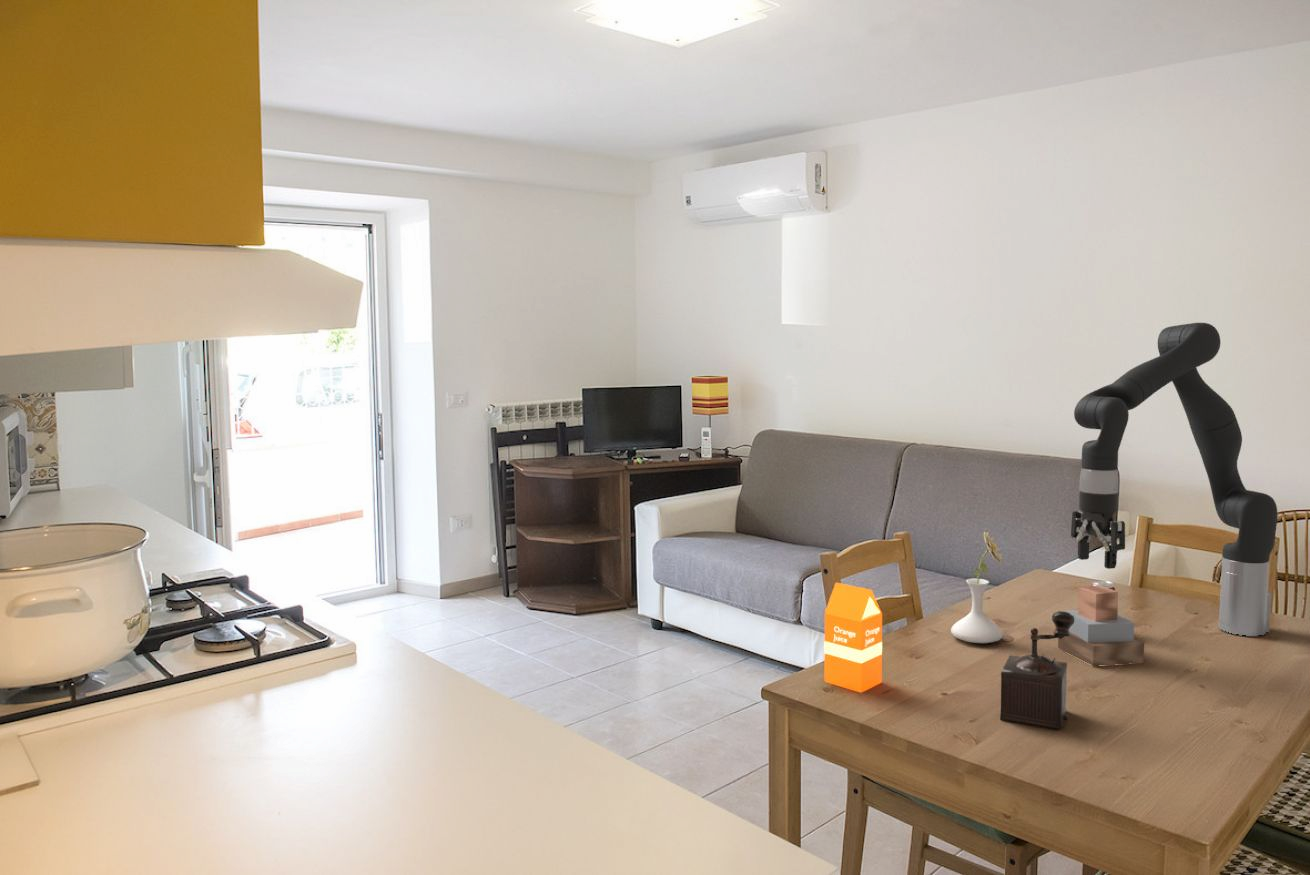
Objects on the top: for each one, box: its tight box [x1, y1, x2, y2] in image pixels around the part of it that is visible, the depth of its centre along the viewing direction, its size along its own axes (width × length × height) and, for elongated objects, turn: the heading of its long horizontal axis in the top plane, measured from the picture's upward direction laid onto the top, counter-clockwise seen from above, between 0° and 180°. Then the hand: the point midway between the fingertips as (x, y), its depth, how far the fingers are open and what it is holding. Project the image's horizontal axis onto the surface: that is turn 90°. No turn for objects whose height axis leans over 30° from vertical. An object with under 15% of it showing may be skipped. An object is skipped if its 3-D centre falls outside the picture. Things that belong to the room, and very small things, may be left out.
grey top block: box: [1064, 609, 1135, 643], centre depth 200 cm, size 10×10×4 cm
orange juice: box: [823, 582, 883, 694], centre depth 186 cm, size 8×9×20 cm
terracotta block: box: [1077, 585, 1119, 622], centre depth 199 cm, size 6×6×6 cm
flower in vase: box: [950, 531, 1004, 644], centre depth 211 cm, size 13×11×25 cm
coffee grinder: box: [999, 610, 1074, 731], centre depth 170 cm, size 16×11×18 cm
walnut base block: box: [1057, 631, 1145, 666], centre depth 200 cm, size 12×12×5 cm
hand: (1096, 563), depth 198 cm, fingers open, 8 cm apart
